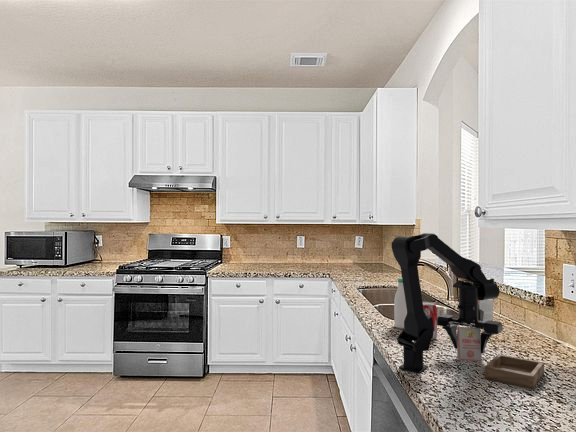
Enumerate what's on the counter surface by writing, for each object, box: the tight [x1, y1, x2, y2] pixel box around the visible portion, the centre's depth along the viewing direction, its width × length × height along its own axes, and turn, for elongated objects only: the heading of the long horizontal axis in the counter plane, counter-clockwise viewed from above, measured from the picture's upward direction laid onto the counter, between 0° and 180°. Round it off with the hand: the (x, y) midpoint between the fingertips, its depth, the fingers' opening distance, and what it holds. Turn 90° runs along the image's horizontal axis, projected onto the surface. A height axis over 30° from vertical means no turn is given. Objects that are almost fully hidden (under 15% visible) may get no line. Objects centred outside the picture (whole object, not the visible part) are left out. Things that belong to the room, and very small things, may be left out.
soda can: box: [423, 301, 438, 341], centre depth 162 cm, size 7×7×13 cm
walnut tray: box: [483, 353, 545, 391], centre depth 122 cm, size 14×12×4 cm
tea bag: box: [456, 326, 483, 363], centre depth 138 cm, size 4×7×10 cm, turn 75°
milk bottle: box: [393, 277, 407, 330], centre depth 179 cm, size 8×8×20 cm
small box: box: [478, 299, 494, 323], centre depth 185 cm, size 8×6×10 cm
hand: (469, 350), depth 138 cm, fingers closed on tea bag, 8 cm apart
